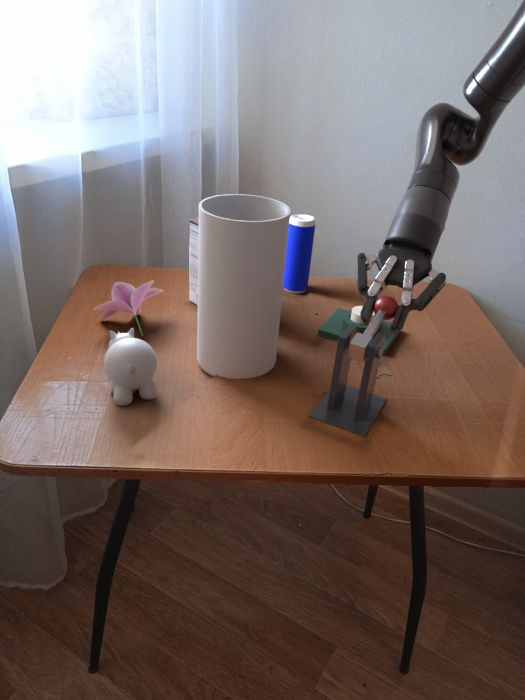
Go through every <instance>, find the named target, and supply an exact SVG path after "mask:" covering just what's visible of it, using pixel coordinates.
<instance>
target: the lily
mask: <svg viewBox="0 0 525 700" xmlns="http://www.w3.org/2000/svg"><path fill="white" fill-rule="evenodd" d="M154 283H155V279H152V280H149V281H147V282H145V283H143V284H140V285H139V286H138V287H137V288H136V287H135V286H133V284H130V283H128V282H124V281H116V282H114V283H113V285H112V287H111V300H108V301H105V302H103V303H101V304H98V305H97V306H96V307H94V308H92V310H93V311H102V310H103V313H102V315H101V317H100V321H101V322H104V321H105V320H107V319H108V318H107V317H109V318H110V317H112V316H114V315H116V314H118V313H120V312H123V313H129V314H133V316H134V319H135V322H136V324H137V327H138V329H139V333H140V335H141V337H143V336H144V333H143V330H142V328H141V325H140V323H139V319H138V317H137V316H138V315H139V314H140V313H141V310H142V302H144V301H145V300H147V299H149V298H152V297H153V296H156V295H159V294H161V293H163V292H164V291H165V289H163V288H157V287H152V285H153V284H154ZM138 312H140V313H138ZM103 318H106V319H103ZM101 319H103V320H101ZM141 333H143V334H141Z"/></svg>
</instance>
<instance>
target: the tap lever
mask: <svg viewBox="0 0 525 700" xmlns="http://www.w3.org/2000/svg"><path fill="white" fill-rule="evenodd" d="M398 306H399V303H398V301H397V300H396V298H394V297H393V296H391V295H381V296H379V298H378V299H377V300H376V301H375V303H374V307H373V309H374V313H375V317H374V318H373V320H372V321H371V323H370V324H369V326H368V327H367V329H366V330H365V332H364V333H363V334H361V333H358V332H357V333H356V335H355V336H354V338H353V339H352V340H351V342H350V344H349V352H348V358H351V360H354V361H355V360H356V361H358V362H361V363H365V359H366V354H367V349H368V345H369V344H370V343H371V341H372V338H373V336H374V334H375V333H376V331H377V330H378V328H379V327H380V325H381V323H382V322H383V320H384V321H390V320H393V319H394V317H395V314H396V311H397V309H398Z"/></svg>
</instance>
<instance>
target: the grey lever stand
mask: <svg viewBox="0 0 525 700" xmlns="http://www.w3.org/2000/svg"><path fill="white" fill-rule="evenodd" d="M356 328H357V326H356V325H353V324H349V326H348V327H347V328H346V329H345V330H344V331H343V332H342V334H341V335H340V336H339V338H338V341H336V342H337V343H336V351H335V357H334V362H333V369H332V377H331V382H330V386H329V387H330V388H329V389H328V390H327V392H326V393H325V394H324V395H323V397H322V398H321V399H320V400H319V401H318V404H316V406H315V407H314V409H312V411H311V412H310V414H309V415H308V417H309V418H311V419H314V420H317V421H319V422H321V423H324V424H327V425H330V426H333V427H335V428H339V429H341V430H343V431H346V432H349V433H351V434H354V435H357V436H359V437H362V438H365V437H366V435H367V434H368V431H369V430H370V429H371V427H372V425H373V423H374V422H375V420H376V418H377V416H378V415H379V413H380V411H382V408H383V406H384V405H385V403H386V401H387V398H386V397H383V396H381V395H377V394H374V391H375V387H376V382H377V377H378V373H379V367H380V362H381V359H382V357H383V351H384V349H383V344H384V340H385V335H386V334H384V333H380V332H378V333H377V335H376V336H375V337H374V339H373V340H372V341H371V343H370V344H369V345H368V349H367V354H366V359H365V360H364V365H363V369H362V373H361V380H360V385H359V388H356V387H353V386H350V385H347V383H348V379H349V372H350V367H351V361H352V359H351V358H348V352H349V344H350V342H351V340H352V339H353V338H354V336H355V334H356Z"/></svg>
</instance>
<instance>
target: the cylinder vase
mask: <svg viewBox="0 0 525 700" xmlns="http://www.w3.org/2000/svg"><path fill="white" fill-rule="evenodd" d="M290 217H291V208H290V207H289V205H287V203H284V202H282V201H279V200H277V199H274V198H272V197H267V196H263V195H256V194H255V195H254V194H245V193H244V194H243V193H234V194H233V193H232V194H231V193H229V194H228V193H227V194H226V193H225V194H218V195H213V196H209V197H206V198H204V199H201V201H199V202H198V218H199V233H198V305H197V316H196V317H197V321H196V323H197V324H196V325H197V326H196V327H197V328H196V331H197V332H196V335H197V336H196V360H197V363H198V365H199V367H200V368H201V369H202V370H203V371H204V372H205V373H207V374H208V375H210V376H212V377H216V376H218V377H221V378H227V379H235V380H236V379H237V380H243V379H244V380H245V379H246V380H247V379H253V378H256V377H261V376H263V375H265V374H267V373H268V372H270V371H271V370H272V369H273V368H274V367H275V365H276V361H277V354H278V353H277V352H278V343H279V335H280V334H279V333H280V332H279V331H280V323H281V311H282V302H283V292H284V288H283V283H284V272H285V262H286V252H287V242H288V231H289V221H290Z"/></svg>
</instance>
